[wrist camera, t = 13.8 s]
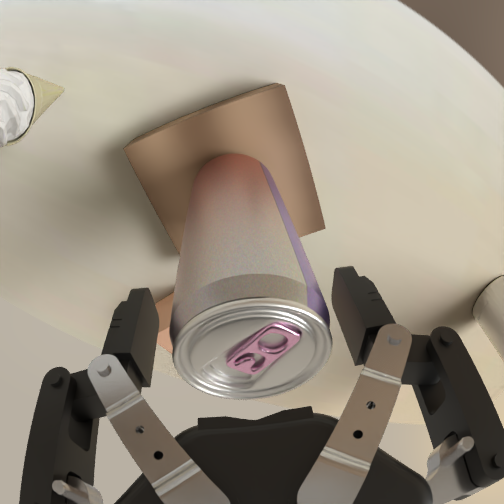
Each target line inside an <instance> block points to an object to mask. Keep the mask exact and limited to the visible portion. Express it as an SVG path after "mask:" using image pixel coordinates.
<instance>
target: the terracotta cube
mask: <svg viewBox="0 0 504 504" xmlns="http://www.w3.org/2000/svg"><path fill="white" fill-rule="evenodd" d="M173 297H174V292H173V293H172V294H170V295H168V296H167V297H165V298H164V299H162V300H160V301H159V302H157V303H156V309H157V312H158V315H159V331H158V337H157V343H158V344H159V345H160V346H162V347H163V348H164V349H166V350H167V351H169V352H170V353H171V354H172V350H173V347H172V344H171V340H170V335H169V328H170V320H171V312H172V305H173Z"/></svg>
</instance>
